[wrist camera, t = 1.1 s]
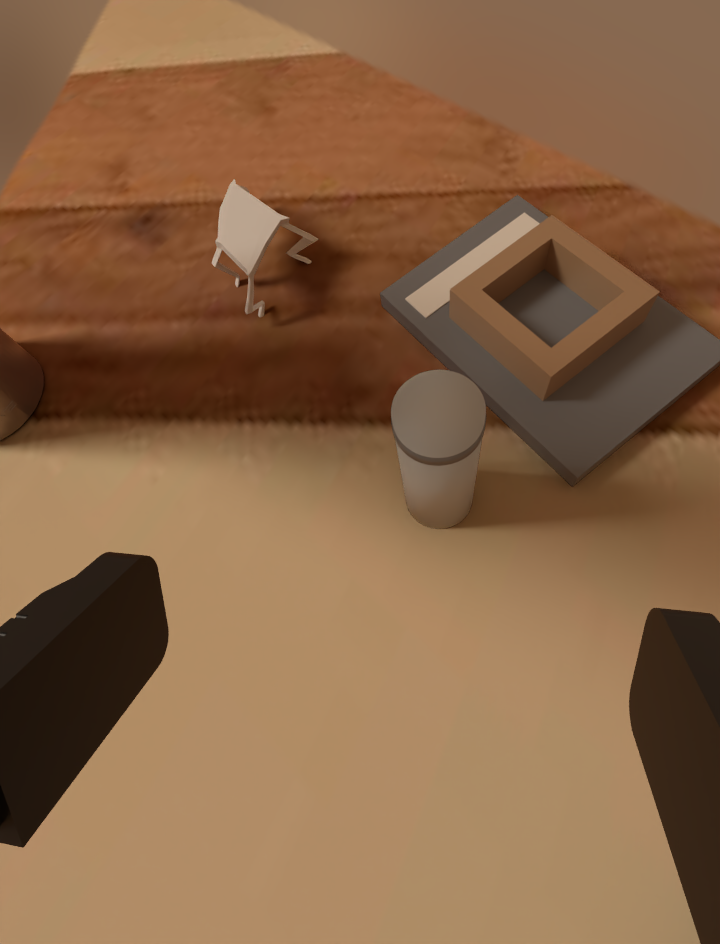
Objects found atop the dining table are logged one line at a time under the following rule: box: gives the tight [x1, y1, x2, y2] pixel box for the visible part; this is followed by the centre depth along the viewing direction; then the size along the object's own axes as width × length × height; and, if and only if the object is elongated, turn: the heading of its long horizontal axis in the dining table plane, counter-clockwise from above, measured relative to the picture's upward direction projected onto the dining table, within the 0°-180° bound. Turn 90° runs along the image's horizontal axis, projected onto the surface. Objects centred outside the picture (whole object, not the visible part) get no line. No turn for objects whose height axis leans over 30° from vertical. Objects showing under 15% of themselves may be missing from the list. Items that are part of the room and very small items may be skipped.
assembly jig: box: [380, 195, 720, 486], centre depth 39 cm, size 20×14×4 cm
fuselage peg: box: [391, 370, 486, 529], centre depth 31 cm, size 4×4×12 cm
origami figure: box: [212, 179, 319, 317], centre depth 45 cm, size 12×8×5 cm
